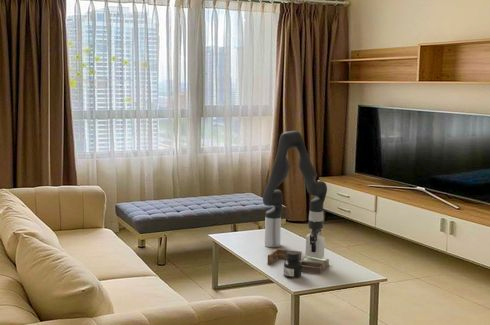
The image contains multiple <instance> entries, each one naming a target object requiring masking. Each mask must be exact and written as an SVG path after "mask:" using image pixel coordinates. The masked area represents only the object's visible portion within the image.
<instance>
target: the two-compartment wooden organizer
mask: <svg viewBox="0 0 490 325" xmlns="http://www.w3.org/2000/svg"><path fill="white" fill-rule="evenodd" d="M300 262H301V263H302V272H304V273H311V274H318V275H320V274H322V273H323V271H325V270H326V268H327V267H328V266H329V264H330V258H325V257H324V258H323V259H319V258H315V257H310V256H306V255H305V256H303V257H302V258H301V261H300Z"/></svg>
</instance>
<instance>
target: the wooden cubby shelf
mask: <svg viewBox="0 0 490 325" xmlns="http://www.w3.org/2000/svg"><path fill="white" fill-rule="evenodd" d="M287 251H293V250H291V249H283V248H278V247H275V249H274V250H272V251H271V252H270V253H268V254H267V265H271V264H272V263H274V262H275V261H276V260H277V259H281V260H286V252H287ZM297 251H298V250H297ZM298 252H300V260H299V261H301V260H302V251H298Z"/></svg>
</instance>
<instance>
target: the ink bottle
mask: <svg viewBox="0 0 490 325" xmlns="http://www.w3.org/2000/svg"><path fill="white" fill-rule="evenodd" d="M300 252H301V251H300ZM300 252H298V250H292V251H287V252H286V259H285V261H284V263H283V276H284V277H286V278H288V279H297V278H301V277H302V274H303V273H302V263H301V262H300V261H299V260H300Z"/></svg>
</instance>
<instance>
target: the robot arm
mask: <svg viewBox="0 0 490 325" xmlns="http://www.w3.org/2000/svg"><path fill="white" fill-rule="evenodd" d="M289 149H290V150H291V149H296V150H297V151H298V155H299V156H298V157H299V158H298V168H299V171H300V172H301V173H300V174H301V175H302V176H303V178H304V183H305V187H306V191H307V193H308V194H309V195H310V196H314V198H312V199H311V200H310V202H309V211H308V212H309V213H308V228H309V229H311V231H310V233H309V234H310V245H312V246H311V252H316V241H317V238H318V235H321V236H322V229H323V228H324V202H325V199H326V196H327V193H328V186H327V183H326V182H325V181H323V180H319V181H318V180H317V181H315V179H316V178H317V177H318V174H317V171H316V169H315V168H314V165H313V163H312V161H311V159H310V157H309V154H308V151H307V147H306V145H305V141H304V139H303V136H302V134H301V133H300V132H299V130H290V131H289V130H288V131H285V132H282V133H281V135H280V137H279V140H278V146H277V151H276V156H275V159H274V162H273V165H272V168H271V172H270V176H269V179H268V182H267V184H266V187H264V188H265V189H264V191H263V194H262V203H263V205H265V206H268V207H271V208H270V209H268V210H266V211H265V218H264V222H265V223H264V246H265V247H266V248H278V247H280V246H281V239H282V238H281V236H282V235H281V231H282V230H281V228H282V213H283V201H284V199H283V198H284V195H283V192H282V190H280V189H277V187H279V186H280V185H281V184H282V183H283V182H284V181H285V180H286V178H287V177H288V174H289V171H290V168H291V167H290V162H289V160H288V157H287V154H288V151H289ZM315 238H316V239H315ZM313 242H314V243H313Z"/></svg>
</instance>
